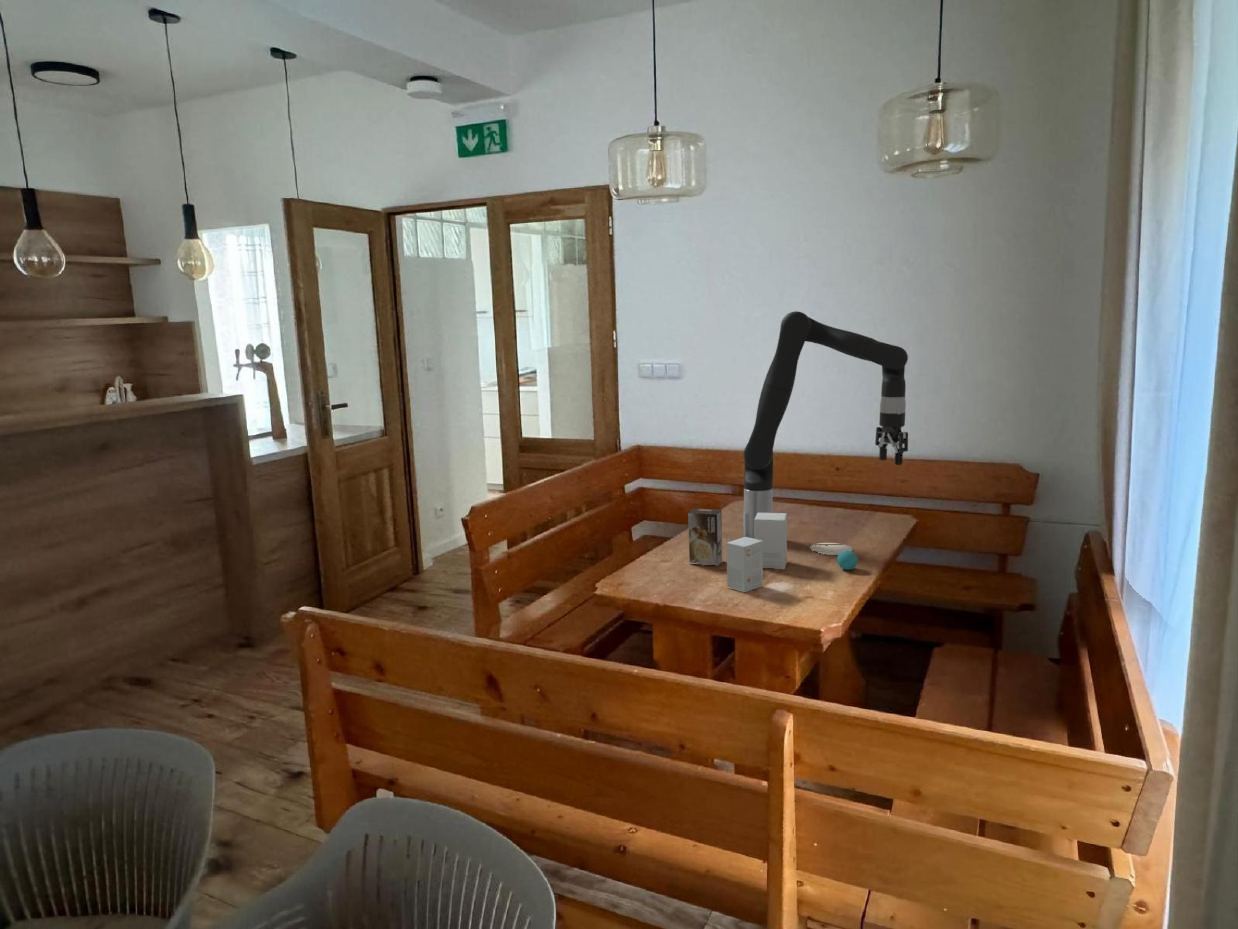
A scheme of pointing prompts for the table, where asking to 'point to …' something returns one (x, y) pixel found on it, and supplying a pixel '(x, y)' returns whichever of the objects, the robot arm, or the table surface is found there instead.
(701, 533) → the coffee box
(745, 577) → the small box
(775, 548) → the supplement box
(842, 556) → the ball
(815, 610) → the table surface
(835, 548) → the disc
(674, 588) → the table surface
